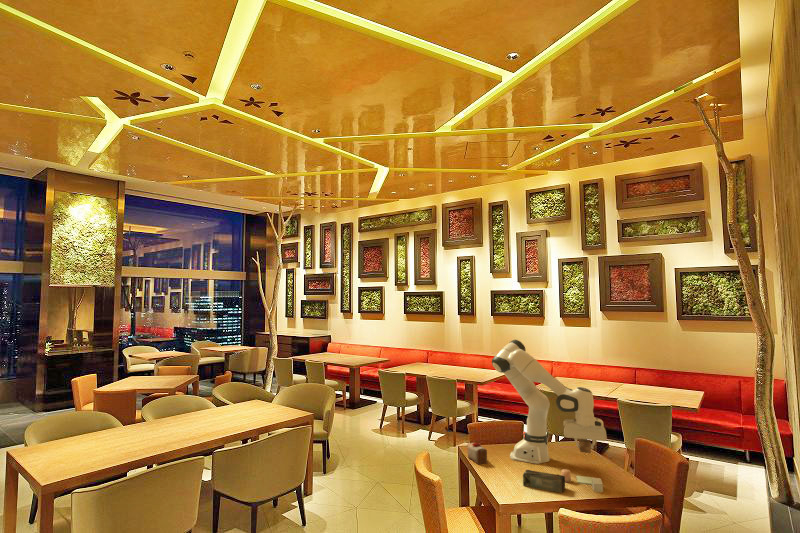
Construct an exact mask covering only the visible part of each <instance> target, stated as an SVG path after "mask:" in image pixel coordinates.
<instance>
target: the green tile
mask: <svg viewBox="0 0 800 533" xmlns="http://www.w3.org/2000/svg"><path fill="white" fill-rule="evenodd" d="M575 477H576V480H577V484H580V485H581V484H583V485H591V486H592V478H595V477H593V476H582V475H576V476H575Z"/></svg>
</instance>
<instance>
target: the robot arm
mask: <svg viewBox="0 0 800 533" xmlns="http://www.w3.org/2000/svg"><path fill="white" fill-rule="evenodd" d="M491 365H492V367H493V368H494V369H495V370H496V371H497V372H498V373H503V374H504V376H505V377H506V378H507V380H508V381H509V382H510V384H511V385H512V386H513V388H514V389H515V390H516V392H517V393H518V394H519V397H520V398H522V400H523V401H524V402H525V404H526V405H527V406H528V415H527V418H526V431H523V432H522V435H523V436H522V437H523V438H522V440H519V441H518V442H517V443H516V444H515V445H514V448H513V450H512V451H511V452H510V454H509V458H510V460H513V461H518V462H525V463H529V464H535V465H540V464H542V463H543V464H544V463H549V462H550V460H551V458H550V456H549V455H550V454H549V449H548V443H549V442H548V441H549V438H548V434H547V433H548V432H547V418H548V414H549V410H550V407H551V404H550V400H549V397H548V396H547V395H546V394H544V393H543V392H542V391H540V390H539V388H538V387H537V386H536V384H535V383H540V384H543V385H544V386H546V387H547V388H549V390H550V391H552V392H553V393H554V394H556V396H557V397H556V400H555V404H556V407H557V408H558V410H560V411H561V412H564V413H574V414H575V419H574V418H566V419H564V420H563V422H562V423H563V424H562V426H563V427H564V429H563V435H564V436H563V437H565V438H567V439H573V440H574V442H575V443H576V448H578V449H579V448H580V443H579V442H578V440H579V439H583V440H590V441H592V443H591V450H594V446H595V444H596V443H597V441H601V442H605V441H607V439H608V436H607V430H606V428H605V427H604V421H603V420H602V419H601V418H598V417H595V414H594V407H595V402H594V395H593V392H592V391H591V390H590V389H589V388H586V387H582V386H581V387H580V386H579V387H576V388H574V389H572V388H569V387H567V386H565V385H564V384H563V383H562V382H560V381H559V380H558V379H557V378H556V377H554V376H553V375H552V374H551V373H550V372H549V371H548V370H546V368H545V367H544V366H543V365H542V364H541V363H540V362H539V361H538V360H537V359H536V358H534V357H533V356H532V355H531V354H530V353H528V352H527V351H526V346H525V345H524V344H523V342H522V341H520V340H518V339H513V340H510V341H509V343H507V344H506V345H504V346H503V347H502V348H501V350H499V351H498V352H497V354H496V355H494V356H493V358H492V359H491Z"/></svg>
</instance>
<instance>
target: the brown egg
mask: <svg viewBox="0 0 800 533" xmlns="http://www.w3.org/2000/svg"><path fill="white" fill-rule="evenodd" d="M571 474H572V472H571V470H570V469H566V468H563V469H561V475H562V476H565V484H566V483H569V484H570V483H571V481H572V478H571V476H572V475H571Z"/></svg>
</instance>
